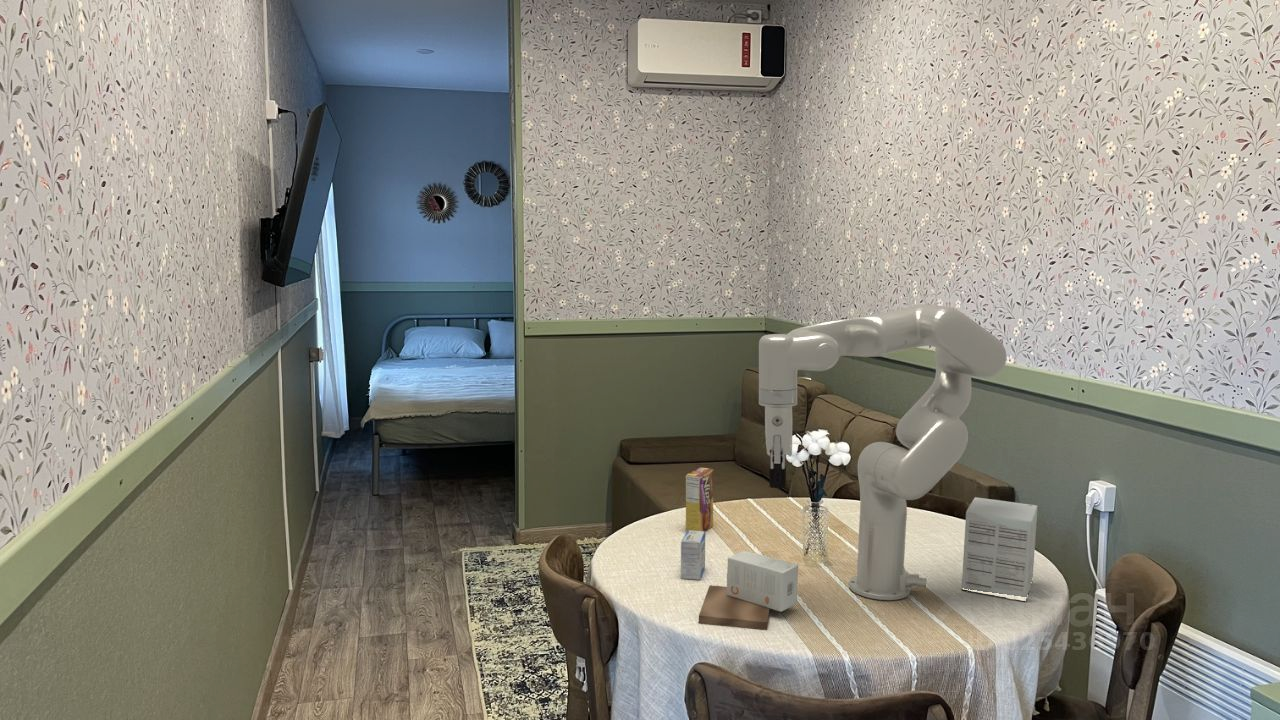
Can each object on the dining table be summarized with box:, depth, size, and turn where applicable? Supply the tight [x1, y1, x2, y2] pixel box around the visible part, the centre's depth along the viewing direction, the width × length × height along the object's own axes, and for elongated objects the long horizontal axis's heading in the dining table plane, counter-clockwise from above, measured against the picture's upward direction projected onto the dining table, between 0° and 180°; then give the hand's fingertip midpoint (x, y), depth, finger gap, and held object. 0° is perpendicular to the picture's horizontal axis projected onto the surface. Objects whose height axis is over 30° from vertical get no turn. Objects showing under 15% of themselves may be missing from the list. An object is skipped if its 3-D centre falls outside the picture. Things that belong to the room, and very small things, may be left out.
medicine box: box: [680, 530, 706, 581], centre depth 198 cm, size 8×4×9 cm, turn 168°
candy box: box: [685, 467, 714, 533], centre depth 229 cm, size 9×4×15 cm, turn 152°
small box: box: [726, 550, 799, 613], centre depth 180 cm, size 8×6×13 cm
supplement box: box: [961, 496, 1038, 597], centre depth 193 cm, size 13×13×18 cm
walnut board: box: [698, 584, 771, 630], centre depth 179 cm, size 13×16×2 cm
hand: (777, 486), depth 180 cm, fingers closed
